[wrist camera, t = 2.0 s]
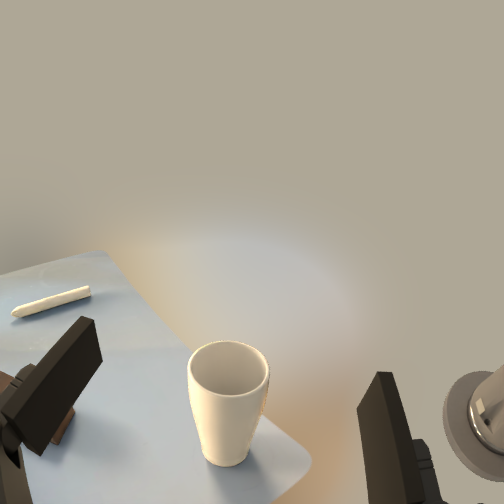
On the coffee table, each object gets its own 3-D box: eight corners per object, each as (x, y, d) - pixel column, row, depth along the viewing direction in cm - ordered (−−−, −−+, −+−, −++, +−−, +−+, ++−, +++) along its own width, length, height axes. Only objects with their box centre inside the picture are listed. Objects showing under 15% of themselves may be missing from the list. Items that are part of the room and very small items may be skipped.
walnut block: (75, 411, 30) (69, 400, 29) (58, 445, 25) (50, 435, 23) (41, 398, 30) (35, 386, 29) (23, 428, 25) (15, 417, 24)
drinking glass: (215, 418, 33) (216, 329, 27) (264, 441, 31) (284, 357, 25) (184, 455, 28) (169, 373, 22) (236, 483, 25) (246, 412, 19)
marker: (12, 322, 42) (8, 312, 41) (11, 316, 43) (8, 306, 42) (91, 297, 54) (89, 287, 53) (89, 292, 55) (87, 282, 54)
